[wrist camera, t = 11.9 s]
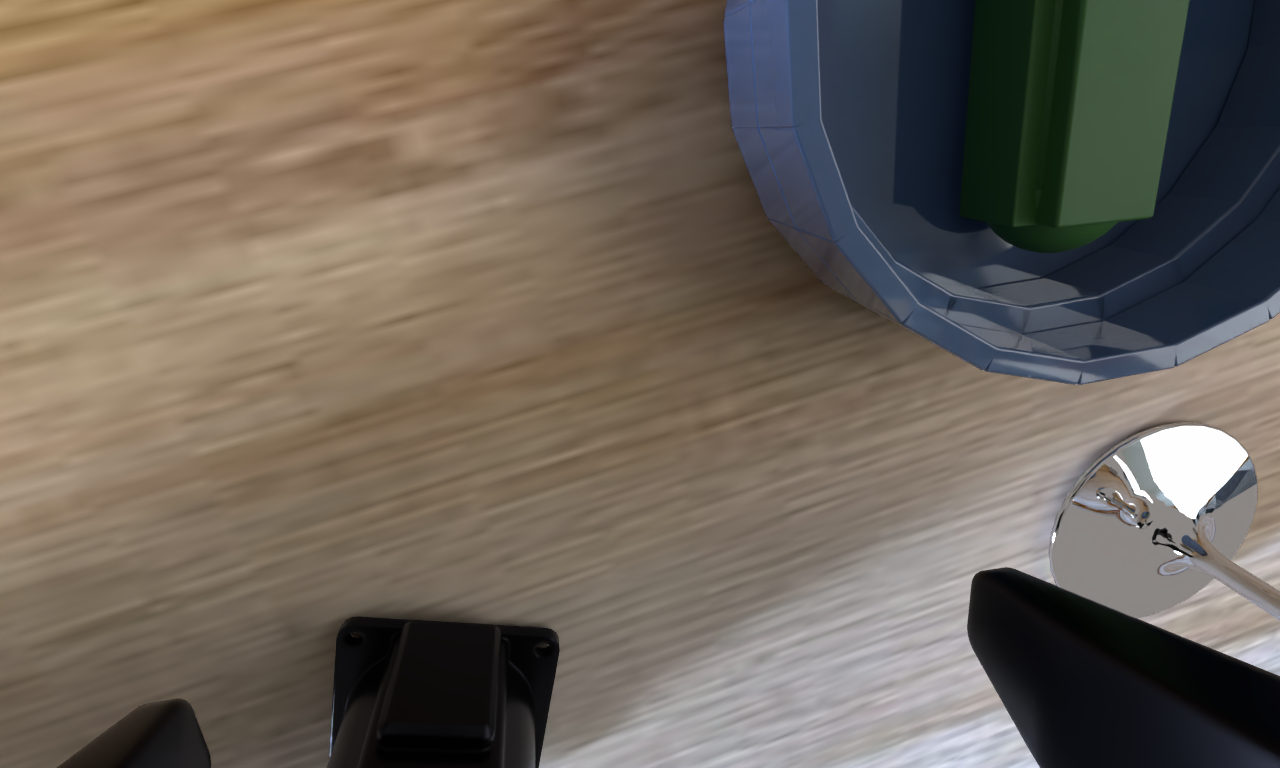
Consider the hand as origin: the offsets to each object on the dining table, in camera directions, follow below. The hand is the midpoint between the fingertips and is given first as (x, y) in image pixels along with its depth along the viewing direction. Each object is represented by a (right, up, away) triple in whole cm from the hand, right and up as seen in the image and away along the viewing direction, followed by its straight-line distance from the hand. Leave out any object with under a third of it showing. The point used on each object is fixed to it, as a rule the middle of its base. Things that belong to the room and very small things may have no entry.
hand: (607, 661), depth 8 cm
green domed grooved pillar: (+10, +12, +10) cm, 18 cm away
